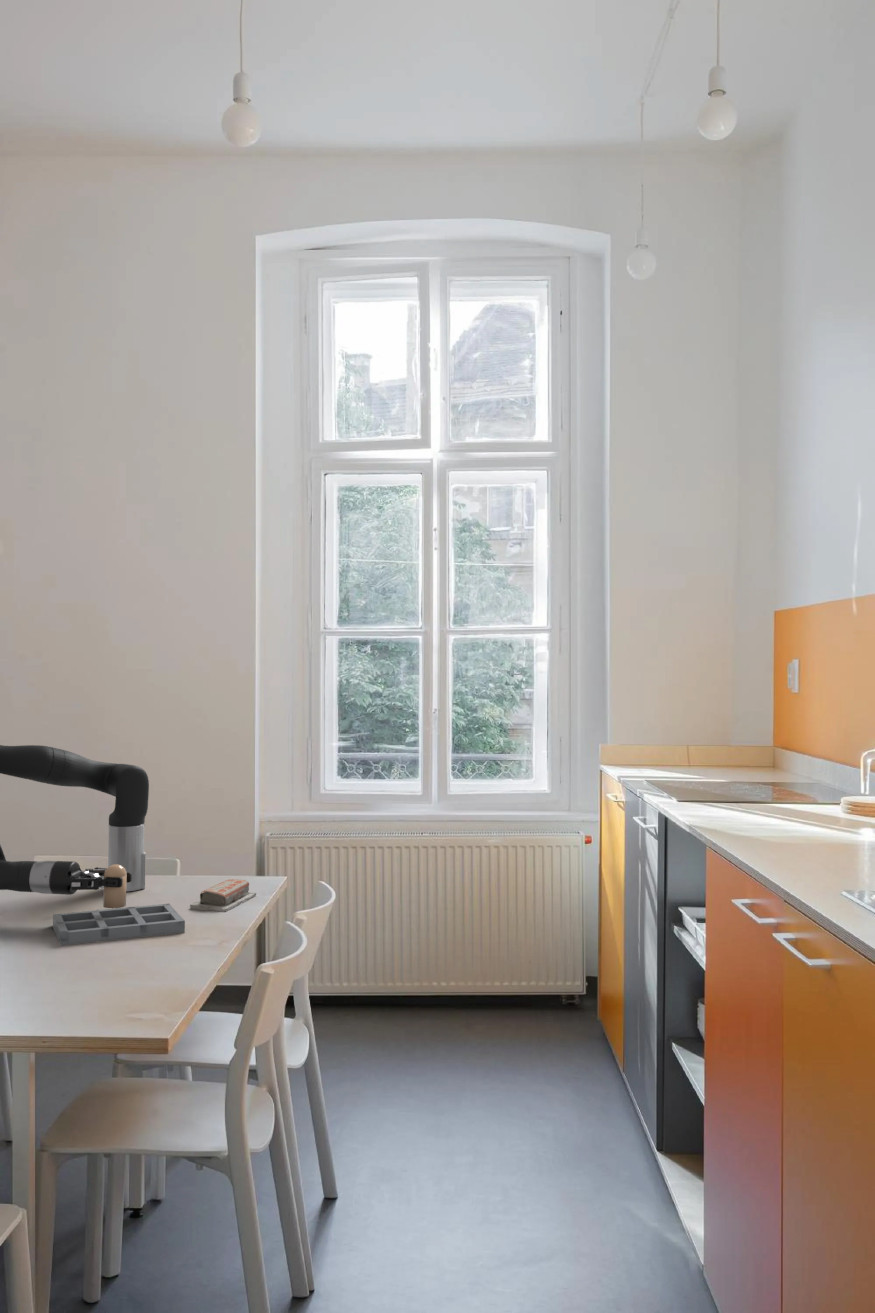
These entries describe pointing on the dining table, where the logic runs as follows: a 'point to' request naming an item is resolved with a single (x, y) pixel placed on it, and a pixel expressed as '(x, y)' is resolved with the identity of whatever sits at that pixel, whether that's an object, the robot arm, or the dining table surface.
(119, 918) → the grey compartment tray
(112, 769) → the robot arm
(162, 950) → the dining table surface
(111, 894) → the tan domed cylinder
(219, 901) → the packaged product
